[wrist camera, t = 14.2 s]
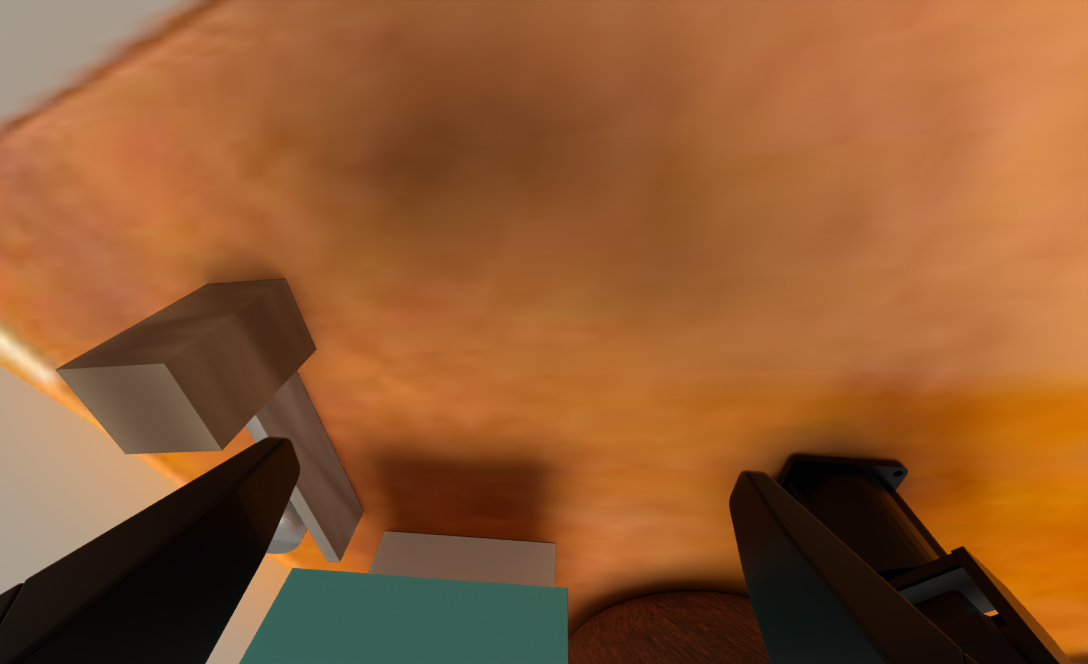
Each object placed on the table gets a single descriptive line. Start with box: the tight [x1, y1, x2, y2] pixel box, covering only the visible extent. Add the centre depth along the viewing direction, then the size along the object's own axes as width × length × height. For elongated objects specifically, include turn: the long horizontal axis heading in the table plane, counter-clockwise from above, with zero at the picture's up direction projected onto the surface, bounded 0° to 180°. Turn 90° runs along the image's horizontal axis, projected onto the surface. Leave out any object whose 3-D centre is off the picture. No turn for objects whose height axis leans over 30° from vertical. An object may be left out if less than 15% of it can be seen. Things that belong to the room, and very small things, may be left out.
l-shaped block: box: [239, 531, 568, 664], centre depth 24 cm, size 12×15×12 cm
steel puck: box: [266, 500, 308, 554], centre depth 27 cm, size 5×5×3 cm
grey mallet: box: [56, 279, 364, 562], centre depth 21 cm, size 4×17×7 cm, turn 5°
